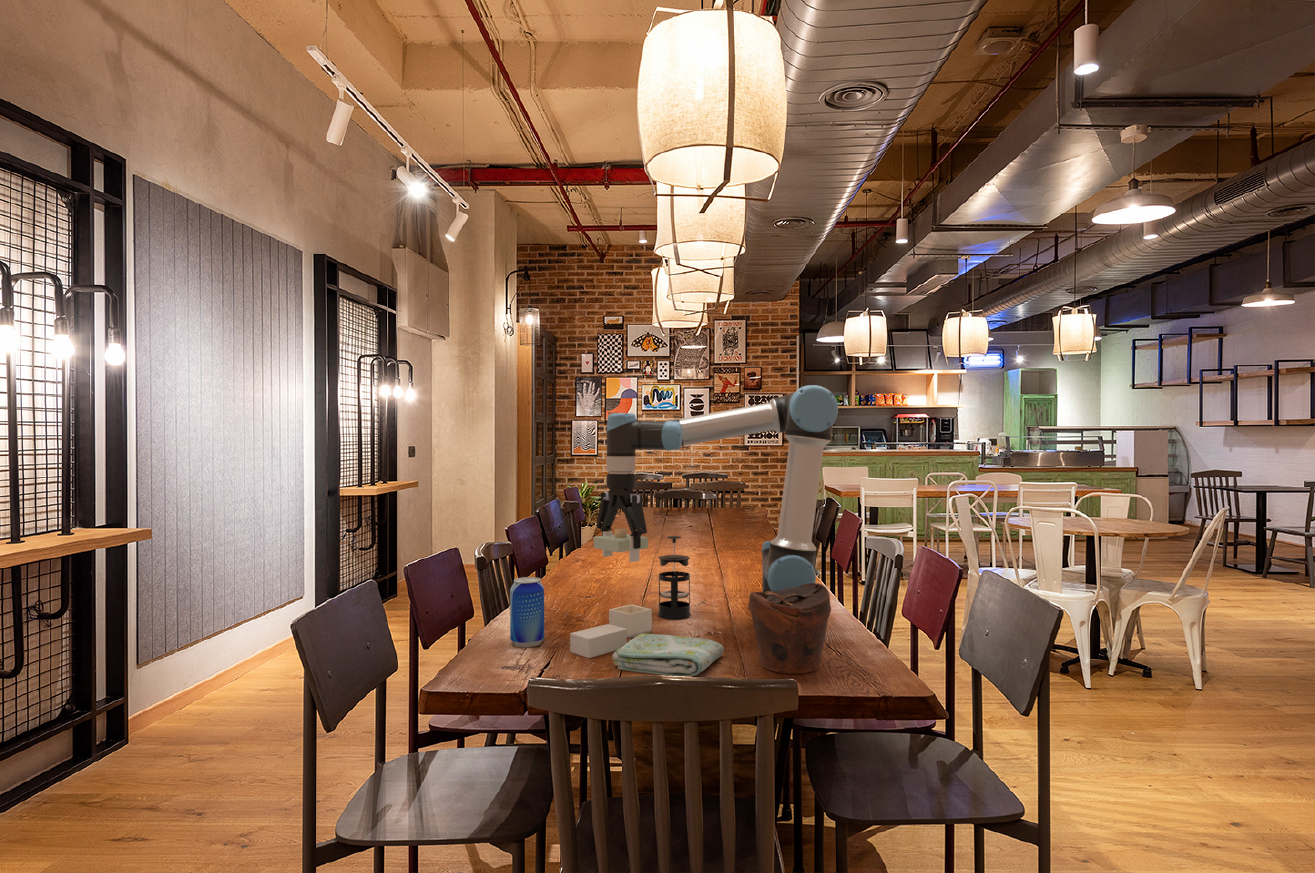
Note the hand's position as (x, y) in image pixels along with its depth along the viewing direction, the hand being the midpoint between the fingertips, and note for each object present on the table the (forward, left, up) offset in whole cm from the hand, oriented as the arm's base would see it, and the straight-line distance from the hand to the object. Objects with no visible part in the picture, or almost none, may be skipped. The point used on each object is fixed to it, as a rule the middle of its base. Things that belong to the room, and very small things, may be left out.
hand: (620, 558), depth 184 cm
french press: (+5, -26, -20) cm, 33 cm away
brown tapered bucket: (-45, -11, -20) cm, 50 cm away
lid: (0, 0, +3) cm, 3 cm away
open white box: (+1, -5, -20) cm, 21 cm away
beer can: (+12, +20, -20) cm, 31 cm away
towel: (-24, +6, -21) cm, 32 cm away
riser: (-5, +11, -20) cm, 24 cm away
